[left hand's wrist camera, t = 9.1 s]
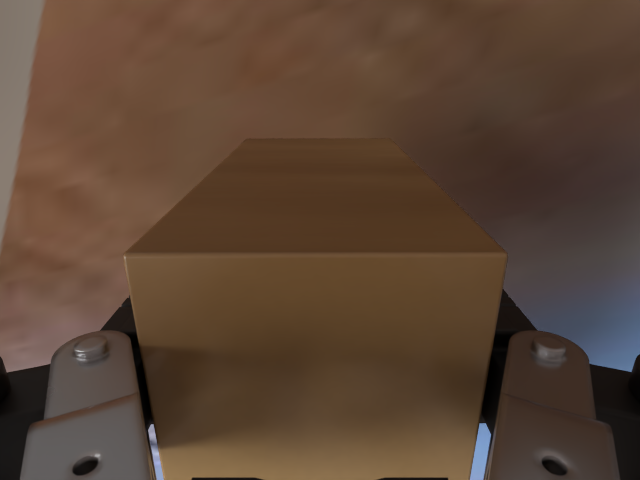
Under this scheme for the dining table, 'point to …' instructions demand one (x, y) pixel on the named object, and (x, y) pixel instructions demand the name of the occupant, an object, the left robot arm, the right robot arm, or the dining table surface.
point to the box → (316, 317)
